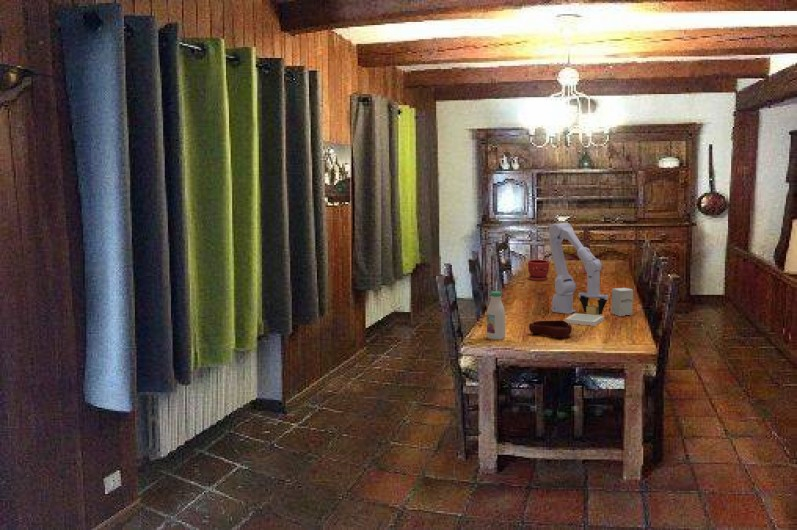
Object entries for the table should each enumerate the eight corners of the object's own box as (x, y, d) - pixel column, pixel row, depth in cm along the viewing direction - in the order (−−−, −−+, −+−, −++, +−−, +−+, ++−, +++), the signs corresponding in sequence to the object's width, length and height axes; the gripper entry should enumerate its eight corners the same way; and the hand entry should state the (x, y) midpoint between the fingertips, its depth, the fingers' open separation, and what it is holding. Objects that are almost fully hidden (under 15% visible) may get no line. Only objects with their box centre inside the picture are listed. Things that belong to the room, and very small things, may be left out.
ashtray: (581, 334, 312) (581, 322, 311) (562, 341, 300) (562, 329, 299) (545, 328, 323) (545, 317, 323) (525, 335, 311) (525, 324, 311)
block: (586, 317, 344) (586, 306, 343) (590, 315, 347) (590, 304, 346) (595, 318, 341) (595, 307, 340) (599, 316, 344) (599, 305, 343)
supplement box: (619, 316, 342) (620, 290, 340) (610, 313, 349) (611, 288, 347) (633, 315, 344) (633, 289, 342) (624, 312, 351) (624, 287, 349)
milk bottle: (503, 335, 311) (503, 290, 308) (506, 339, 304) (506, 293, 301) (485, 336, 311) (485, 290, 308) (488, 340, 303) (488, 293, 301)
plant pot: (526, 281, 449) (526, 262, 448) (529, 277, 462) (529, 259, 460) (548, 281, 446) (548, 262, 444) (550, 278, 458) (550, 259, 456)
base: (564, 323, 332) (564, 318, 331) (574, 317, 343) (574, 313, 343) (595, 326, 324) (595, 321, 324) (604, 320, 336) (604, 315, 336)
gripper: (575, 284, 344) (575, 312, 346) (603, 287, 334) (603, 316, 336) (582, 282, 349) (582, 310, 351) (610, 285, 339) (610, 313, 341)
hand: (593, 313), depth 344 cm, fingers open, 7 cm apart
